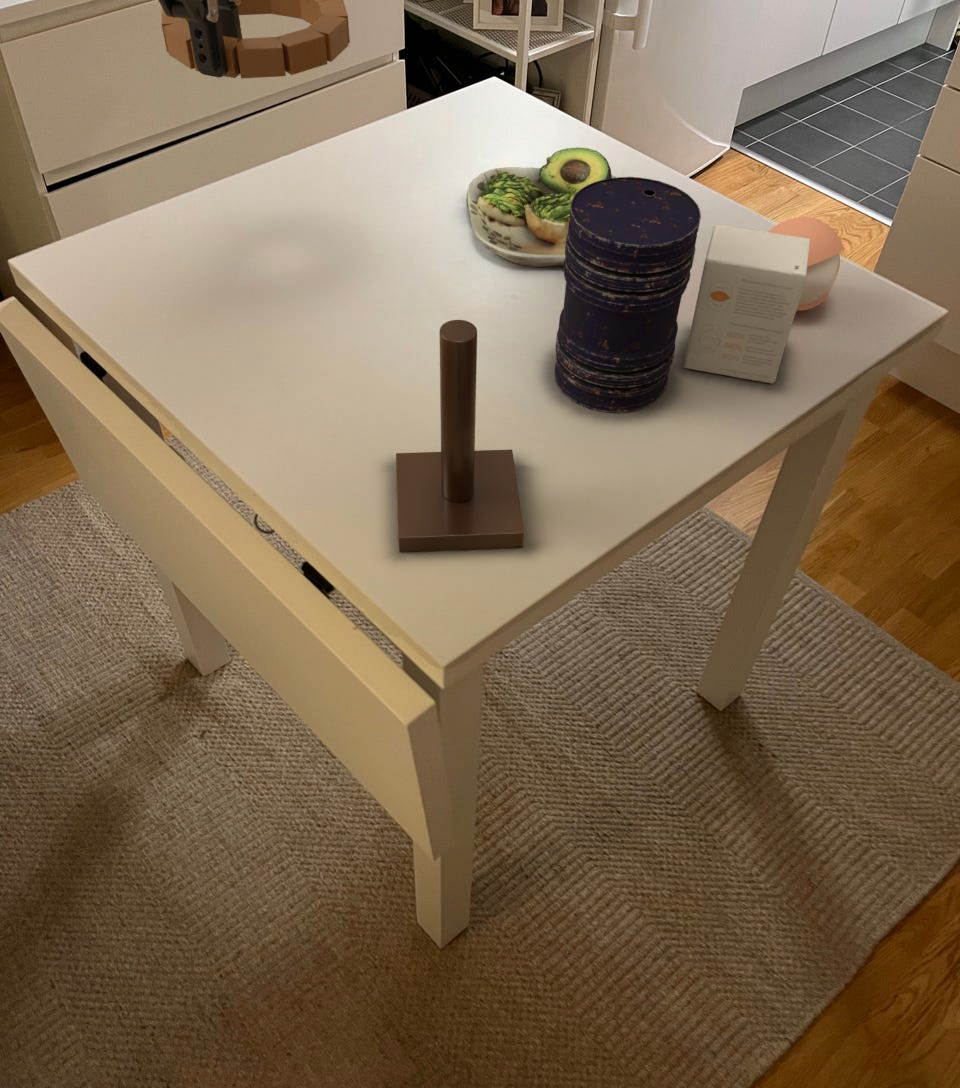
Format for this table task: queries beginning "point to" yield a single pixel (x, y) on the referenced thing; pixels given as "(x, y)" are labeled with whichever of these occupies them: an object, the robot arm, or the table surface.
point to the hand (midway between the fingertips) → (221, 66)
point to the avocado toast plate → (532, 205)
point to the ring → (272, 39)
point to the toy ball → (815, 257)
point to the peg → (458, 468)
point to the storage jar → (623, 291)
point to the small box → (746, 302)
